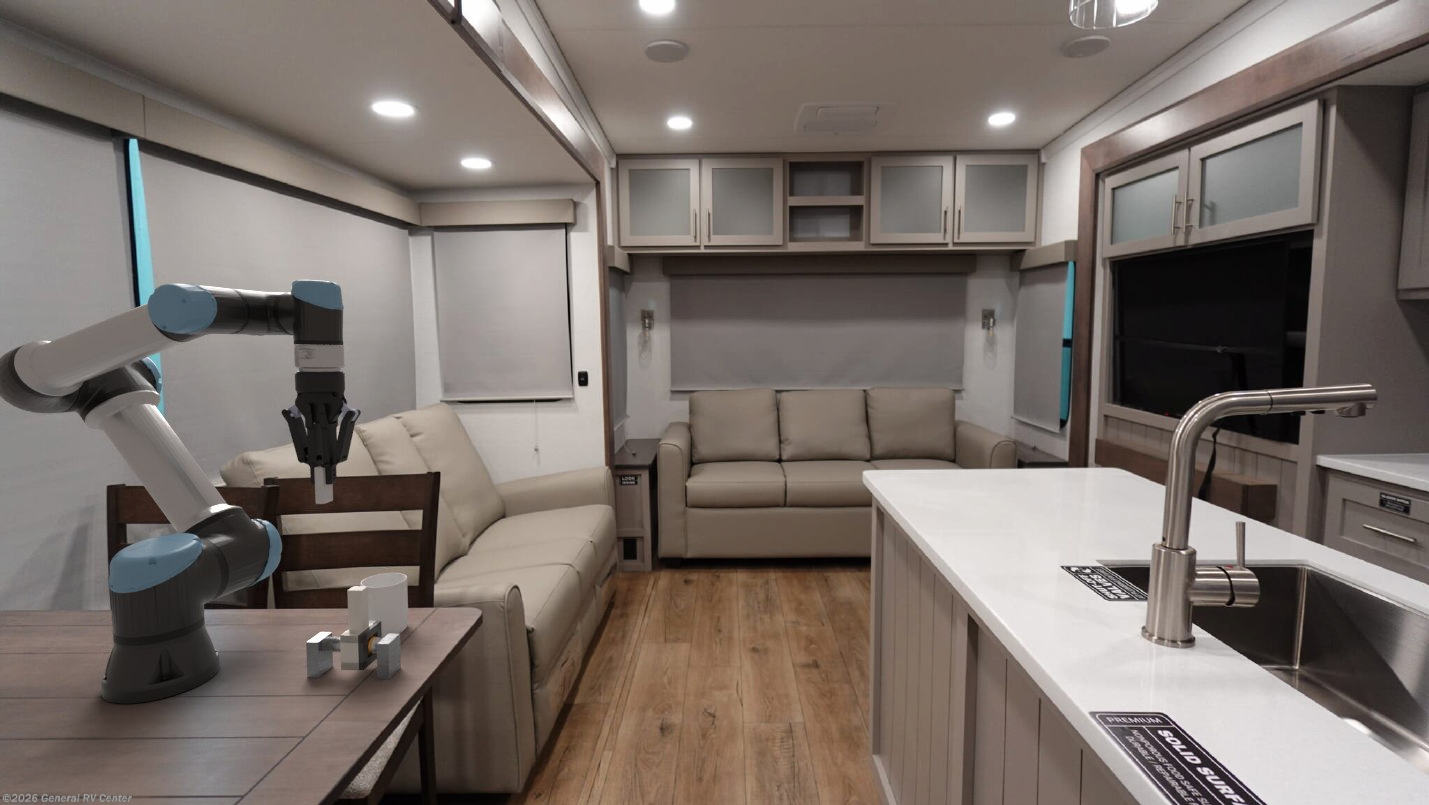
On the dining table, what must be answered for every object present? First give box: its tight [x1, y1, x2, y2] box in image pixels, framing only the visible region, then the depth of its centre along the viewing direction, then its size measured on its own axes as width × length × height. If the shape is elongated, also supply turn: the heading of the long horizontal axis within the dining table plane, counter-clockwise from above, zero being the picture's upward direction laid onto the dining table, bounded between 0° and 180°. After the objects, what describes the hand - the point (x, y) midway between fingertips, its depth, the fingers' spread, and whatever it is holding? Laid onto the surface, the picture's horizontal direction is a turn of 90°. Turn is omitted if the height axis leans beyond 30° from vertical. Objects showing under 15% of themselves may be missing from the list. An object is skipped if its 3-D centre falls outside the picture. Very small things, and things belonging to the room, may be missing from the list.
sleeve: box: [339, 585, 382, 671], centre depth 113 cm, size 4×6×13 cm, turn 179°
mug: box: [359, 572, 409, 638], centre depth 128 cm, size 12×8×10 cm
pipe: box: [305, 631, 402, 680], centre depth 113 cm, size 14×4×6 cm, turn 89°
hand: (324, 502), depth 117 cm, fingers closed
